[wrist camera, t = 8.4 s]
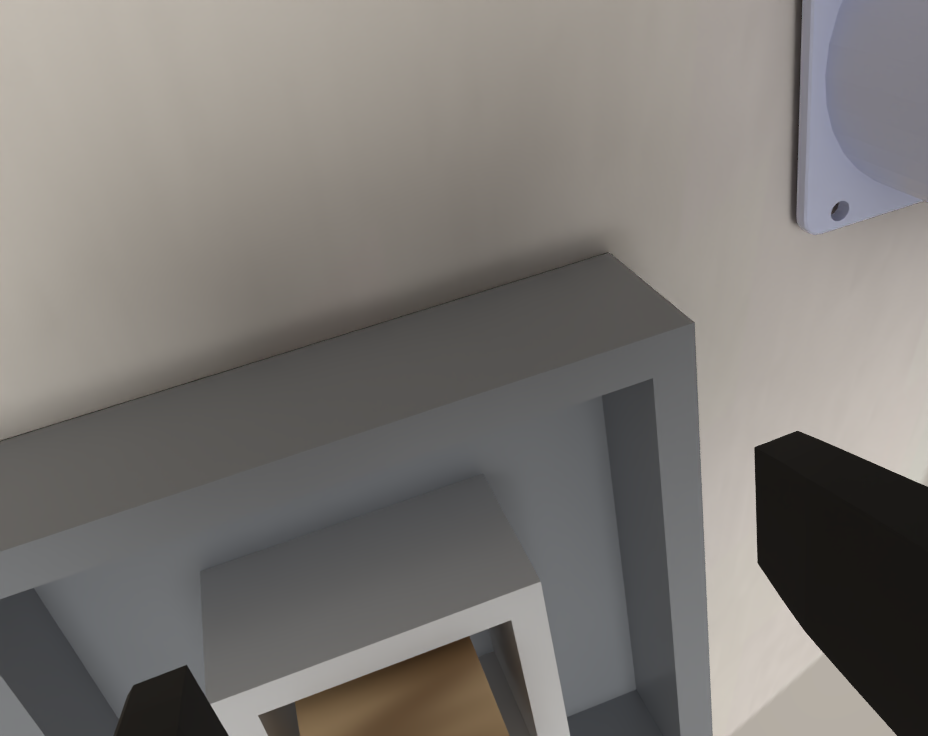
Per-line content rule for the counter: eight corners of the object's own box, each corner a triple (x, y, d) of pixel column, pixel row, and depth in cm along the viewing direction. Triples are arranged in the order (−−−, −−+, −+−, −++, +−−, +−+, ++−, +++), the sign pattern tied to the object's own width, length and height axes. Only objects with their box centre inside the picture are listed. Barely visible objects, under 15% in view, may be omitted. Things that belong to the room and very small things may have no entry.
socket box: (609, 252, 21) (721, 344, 16) (651, 674, 29) (732, 805, 25) (-78, 465, 18) (-151, 637, 14) (188, 858, 27) (191, 1039, 22)
